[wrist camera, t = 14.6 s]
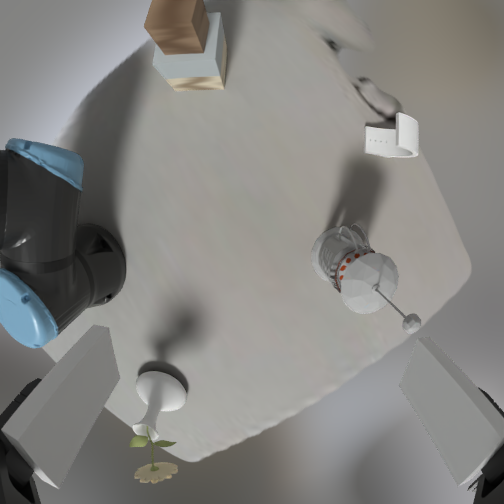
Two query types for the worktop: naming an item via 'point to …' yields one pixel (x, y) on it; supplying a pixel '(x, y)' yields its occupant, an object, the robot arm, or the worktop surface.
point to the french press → (358, 272)
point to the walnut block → (178, 26)
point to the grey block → (195, 56)
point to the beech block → (202, 78)
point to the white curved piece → (393, 139)
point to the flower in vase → (158, 399)
